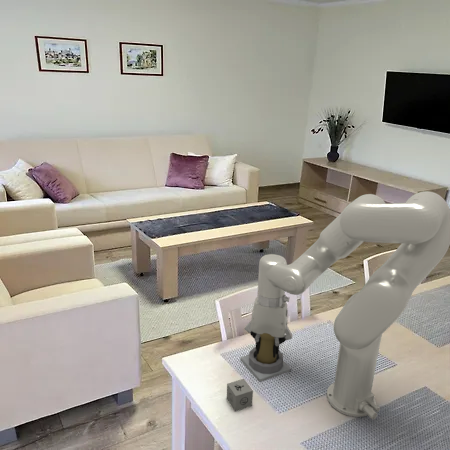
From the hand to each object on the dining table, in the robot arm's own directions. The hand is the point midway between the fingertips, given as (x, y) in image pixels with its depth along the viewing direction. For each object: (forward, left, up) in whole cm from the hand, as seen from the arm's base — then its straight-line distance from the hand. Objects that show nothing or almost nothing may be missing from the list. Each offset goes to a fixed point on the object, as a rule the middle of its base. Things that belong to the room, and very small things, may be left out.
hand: (267, 352), depth 125 cm
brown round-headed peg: (0, 0, -3) cm, 3 cm away
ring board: (0, 0, -5) cm, 5 cm away
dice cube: (-10, +15, -5) cm, 18 cm away
